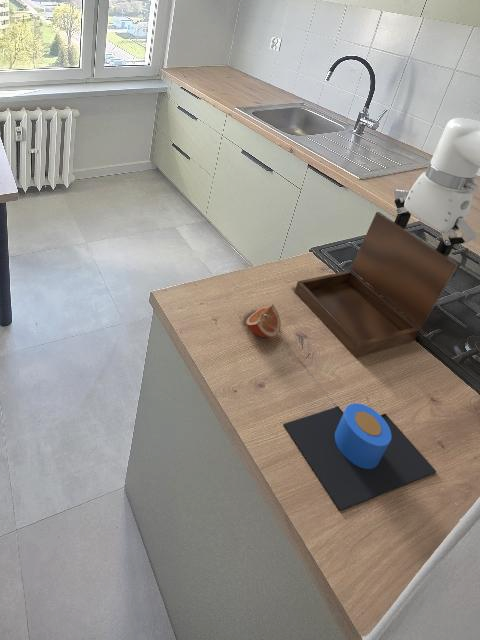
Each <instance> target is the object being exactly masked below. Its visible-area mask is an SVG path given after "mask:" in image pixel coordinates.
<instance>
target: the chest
mask: <svg viewBox="0 0 480 640" xmlns="http://www.w3.org/2000/svg"><path fill="white" fill-rule="evenodd" d="M294 294H295V295H296V296H297V297H298V298H299V299H300V300H301V301H302V302H303V303H304V304H305V305H306V306H307V307H308V309H309V310H310V311H311V312H312V313H313V314H314V315H315V316H316V317H317V318H318V319H319V320H320V321H321V323H322V324H323V325H324V326H325V327H326V328H327V329H328V330H329V331H330V332H331V333H332V334H333V335H334V337H336V339H337V340H338V341H339V342H340V343H341V344H342V345H343V347H344V348H345V349H347V351H349V353H350V354H351V355H352V356H353V357H354V358H355V359H356V358H359V357H363V356H366V355H370V354H373V353H378V352H380V351H381V352H382V351H384V350H387V349H391V348H395V347H398V346H402V345H406V344H408V343H409V344H410V343H412V342H415V341H416V339H417V337H418V335H419V333H420V331H421V328H419V327H418V326H417V325H416V324H415V323H413V322H412V321H411V320H410V319H409V318H408V317H406V316H405V315H404V314H403V313H402V312H401V311H399V310H398V309H397V308H396V307H395V306H394V305H392V304H391V303H390V302H389V301H388V300H387V299H385V298H384V297H383V296H382V295H381V294H380V293H378V292H377V291H376V290H375V289H374V288H373V287H371V286H370V285H369V284H368V283H367V282H366V281H364V280H363V279H362V278H361V277H360V276H359V275H357V274H356V273H355V272H354V271H353V270H352V269H350V270H345V271H340V272H335V273H330V274H326V275H320V276H316V277H312V278H311V277H310V278H306V279H302V280H297V282H296V286H295V289H294Z"/></svg>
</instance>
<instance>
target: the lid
mask: <svg viewBox="0 0 480 640" xmlns="http://www.w3.org/2000/svg"><path fill="white" fill-rule="evenodd" d="M436 249H437V248H435V246H433V245H431V244H430V243H428V242H427V241H426V240H424V239H422V238H421V237H419V236H418V235H416V234H415V233H413V232H410V231H408V230H407V229H406V228H402V227H401V226H399V225H398V224H396V223H395V221H393V220H392V219H391V218H389V217H387V216H386V215H384V214H383V213H381V212H380V211H376V212H375V214H374V217H373V219H372V221H371V223H370V225H369V228H368V229H367V232H366V234H365V236H364V238H363V240H362V242H361V245H360V247H359V250H358V251H357V254H356V256H355V258H354V260H353V263H352V265H351V267H350V270H352V271H353V272H354V273H355V274H356V275H357V276H359V277H360V278H361V279H362V280H363V281H364V282H366V283H367V284H368V285H369V286H370V287H371V288H373V289H374V290H375V291H376V292H377V293H378V294H380V295H381V296H382V297H383V298H384V299H385V300H387V301H388V302H389V303H390V304H391V305H392V306H393V307H395V308H396V309H397V310H398V311H399V312H400V313H402V314H403V315H404V316H405V317H406V318H407V319H409V320H410V321H411V322H412V323H413V324H414V325H416V326H417V327H418V328H419V329H423V327H424V326H425V324H426V322H427V320H428V318H429V317H430V315H431V313H432V312H433V310H434V308H435V306H436V305H437V304H438V301H439V299H440V298H441V296H442V294H443V292H444V291H445V289H446V287H447V286H448V284H449V282H450V280H451V279H452V277H453V275H454V273H455V272H456V270H457V269H458V267H459V264H458V263H457V262H455V261H454V260H452V259H451V258H449V257H448V256H445V255H443V254H442V253H440V252H439V251H437V250H436Z"/></svg>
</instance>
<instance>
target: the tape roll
mask: <svg viewBox="0 0 480 640" xmlns="http://www.w3.org/2000/svg"><path fill="white" fill-rule="evenodd" d="M381 415H382V414H380V413H378V412H377V411H376V410H375V409H373V408H372V407H370V406H368V405H365V404H362V403H357V402H354V403H353V402H352V403H350V404H348V405H347V406H346V407H345V409H344V411H343V416H342V418H341V420H340V422H339V425H338V427H337V429H336V431H335V441H336V444H337V446H338V448H339V450H340V451H341V453H342V454H343V455H344V456H345V457H346V458H347V459H348V460H349V461H350V462H352V463H353V464H355V465H356V466H359V467H361V468H365V469H372V468H375V467H376V466H377V465H378V464H379V462H380V460H381V458H382V456H383V454H384V452H385V451H386V449H387V447H388V445H389V443H390V441H391V438H392V435H391V430H390V428H389V426H388V424H387V423H386V421H385V420H384V419H383V418H382V416H381Z"/></svg>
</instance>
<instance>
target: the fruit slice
mask: <svg viewBox="0 0 480 640" xmlns="http://www.w3.org/2000/svg"><path fill="white" fill-rule="evenodd" d="M245 324H246V327H247V328H248V329H249V330H250V332H252V333H253V334H255V335H256V336H258V337H261V338H275V337H277V336H278V335H279V334H280V331H281V325H282V322H281V318H280V315H279V312H278V310H277V308H276V306H275V305H274V304H273V303H272V304H266V305H263V306H262V307H260V308H259V309H257V310H256V311H254V312H253V313H251V314H250V315H249V316H248V318H246V320H245Z"/></svg>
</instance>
